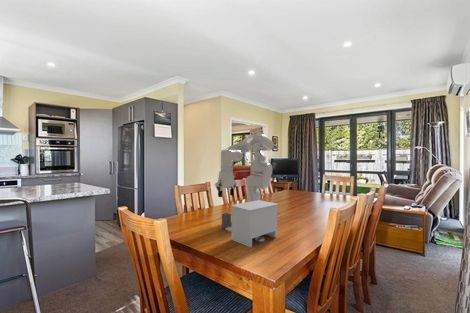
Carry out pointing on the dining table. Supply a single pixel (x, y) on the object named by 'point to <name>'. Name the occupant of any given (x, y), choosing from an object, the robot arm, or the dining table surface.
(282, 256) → the dining table surface
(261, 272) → the dining table surface
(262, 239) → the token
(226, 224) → the blade tool
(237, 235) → the cabinet
